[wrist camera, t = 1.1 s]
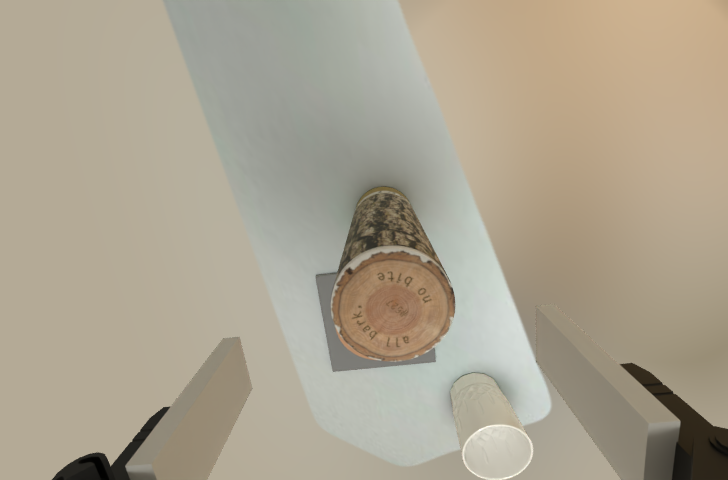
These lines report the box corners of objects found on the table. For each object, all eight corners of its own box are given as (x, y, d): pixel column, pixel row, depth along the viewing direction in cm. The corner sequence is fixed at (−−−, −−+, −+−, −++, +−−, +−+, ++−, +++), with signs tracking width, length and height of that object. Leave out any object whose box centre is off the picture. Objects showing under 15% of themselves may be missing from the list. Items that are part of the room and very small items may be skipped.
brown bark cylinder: (385, 251, 45) (397, 383, 21) (343, 216, 44) (305, 313, 20) (423, 210, 43) (482, 301, 19) (380, 173, 42) (386, 221, 18)
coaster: (316, 275, 46) (314, 278, 45) (426, 262, 45) (427, 265, 44) (333, 369, 50) (332, 374, 49) (434, 359, 49) (436, 364, 48)
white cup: (493, 361, 49) (522, 416, 39) (509, 406, 51) (541, 469, 41) (438, 378, 50) (453, 436, 40) (456, 422, 52) (474, 488, 42)
